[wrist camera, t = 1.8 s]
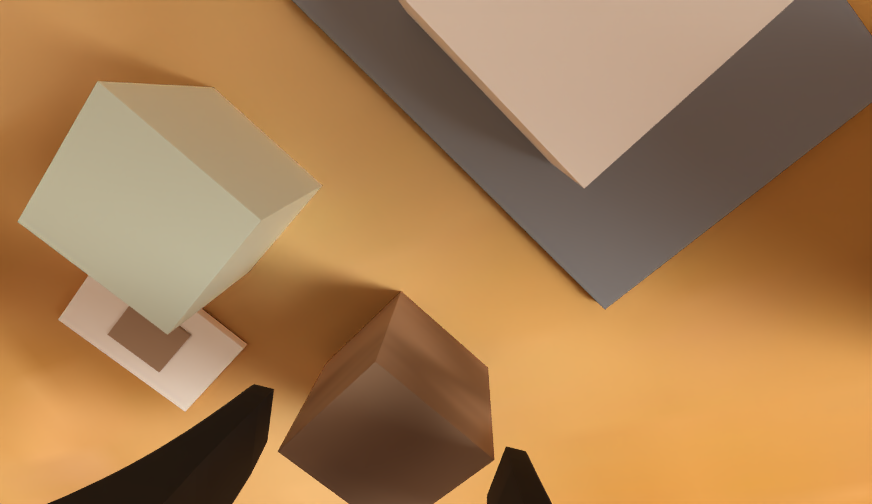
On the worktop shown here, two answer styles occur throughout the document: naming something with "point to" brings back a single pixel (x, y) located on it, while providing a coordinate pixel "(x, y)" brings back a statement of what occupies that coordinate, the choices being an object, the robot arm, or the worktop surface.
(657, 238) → the mat
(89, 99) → the sage green block
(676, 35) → the off-white block
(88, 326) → the card
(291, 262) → the worktop surface
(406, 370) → the walnut block
